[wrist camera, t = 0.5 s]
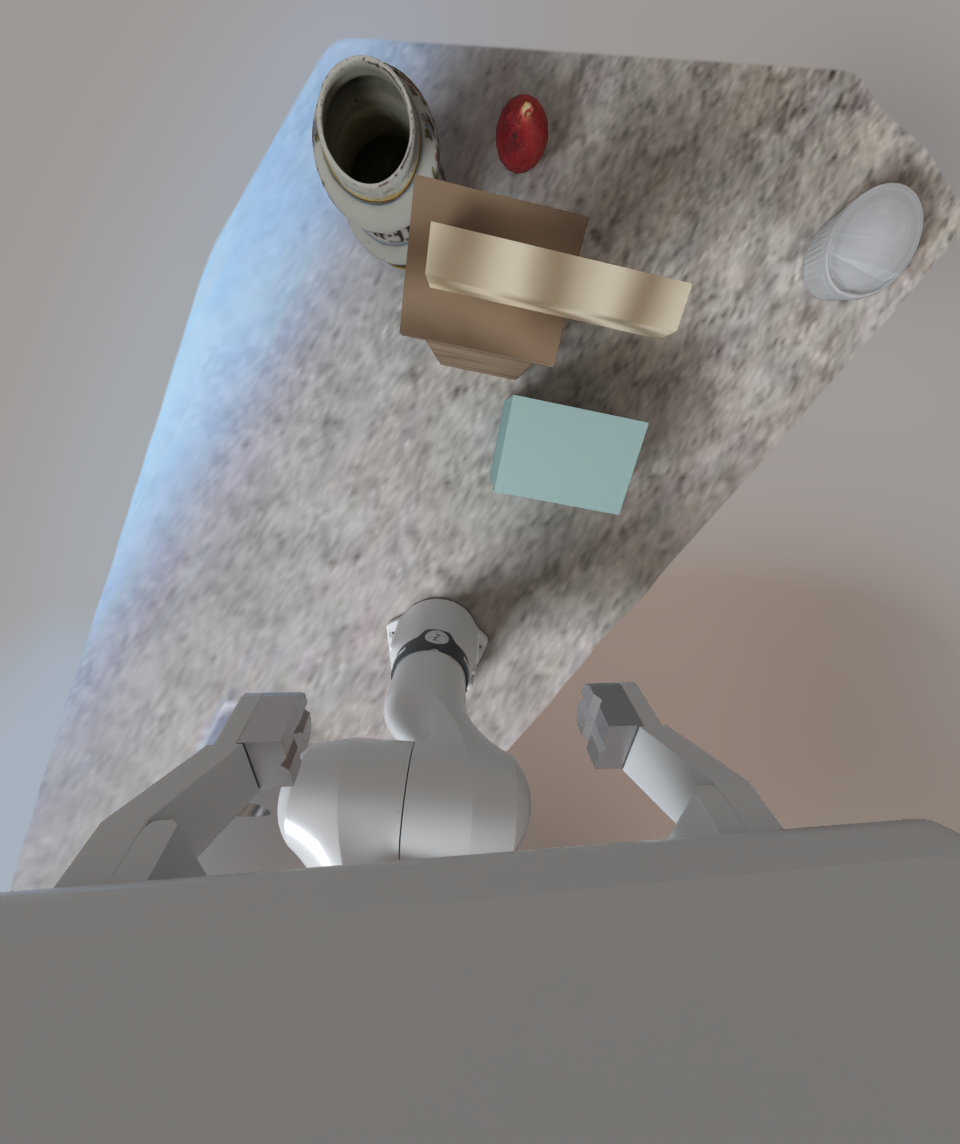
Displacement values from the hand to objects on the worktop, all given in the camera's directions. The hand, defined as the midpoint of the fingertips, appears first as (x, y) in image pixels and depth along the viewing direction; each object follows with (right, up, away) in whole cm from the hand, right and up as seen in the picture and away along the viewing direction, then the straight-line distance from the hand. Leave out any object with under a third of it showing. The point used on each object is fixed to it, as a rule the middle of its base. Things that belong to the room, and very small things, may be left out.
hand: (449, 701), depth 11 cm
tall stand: (+1, +36, +43) cm, 56 cm away
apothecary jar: (-9, +49, +38) cm, 62 cm away
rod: (+7, +26, +19) cm, 33 cm away
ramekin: (+48, +46, +40) cm, 78 cm away
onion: (+6, +55, +36) cm, 66 cm away
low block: (+11, +23, +48) cm, 55 cm away
